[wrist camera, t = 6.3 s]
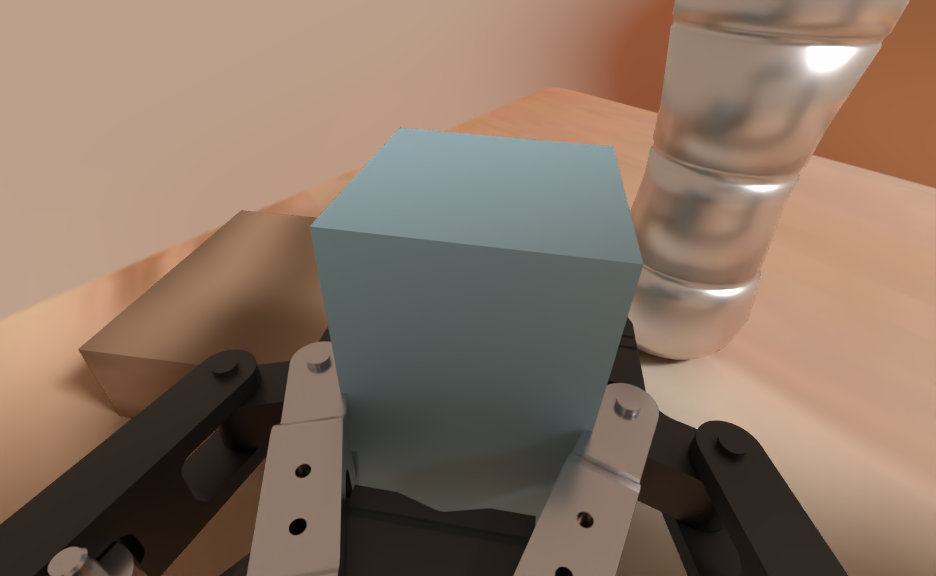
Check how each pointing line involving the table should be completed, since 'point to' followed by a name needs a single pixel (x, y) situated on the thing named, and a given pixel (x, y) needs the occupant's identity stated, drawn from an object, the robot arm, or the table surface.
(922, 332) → the table surface
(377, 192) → the blue block
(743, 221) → the plastic bottle
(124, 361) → the walnut block
